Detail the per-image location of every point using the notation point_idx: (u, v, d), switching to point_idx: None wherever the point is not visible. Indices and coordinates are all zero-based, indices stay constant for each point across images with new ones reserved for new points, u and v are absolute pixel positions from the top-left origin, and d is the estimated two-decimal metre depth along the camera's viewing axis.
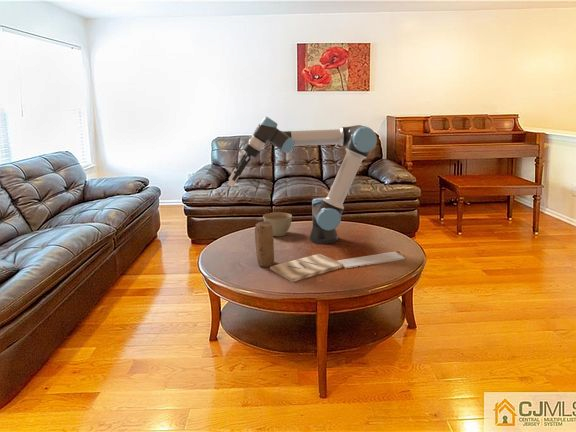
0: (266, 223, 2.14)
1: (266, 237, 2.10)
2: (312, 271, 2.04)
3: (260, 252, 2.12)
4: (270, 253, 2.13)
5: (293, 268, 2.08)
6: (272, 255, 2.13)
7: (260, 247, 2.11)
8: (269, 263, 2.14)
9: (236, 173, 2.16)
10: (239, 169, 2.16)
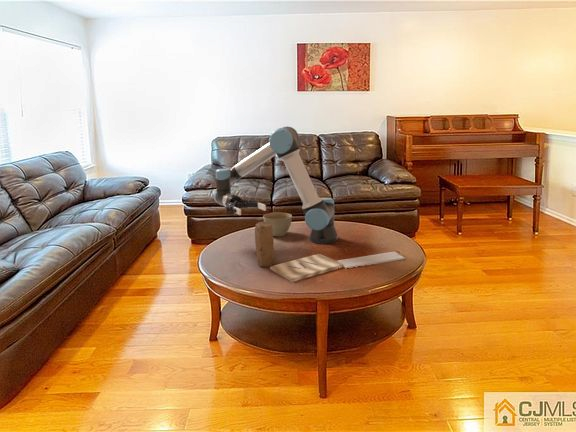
0: (266, 223, 2.14)
1: (266, 237, 2.10)
2: (312, 271, 2.04)
3: (260, 252, 2.12)
4: (270, 253, 2.13)
5: (293, 268, 2.08)
6: (272, 255, 2.13)
7: (260, 247, 2.11)
8: (269, 263, 2.14)
9: (228, 211, 2.21)
10: (226, 210, 2.23)
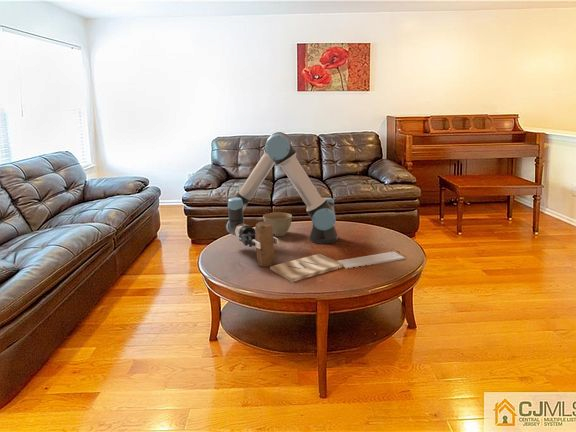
0: (266, 223, 2.14)
1: (267, 237, 2.10)
2: (312, 271, 2.04)
3: (260, 252, 2.12)
4: (271, 253, 2.13)
5: (293, 268, 2.08)
6: (272, 255, 2.13)
7: None
8: (269, 263, 2.14)
9: (247, 244, 2.14)
10: (244, 243, 2.16)
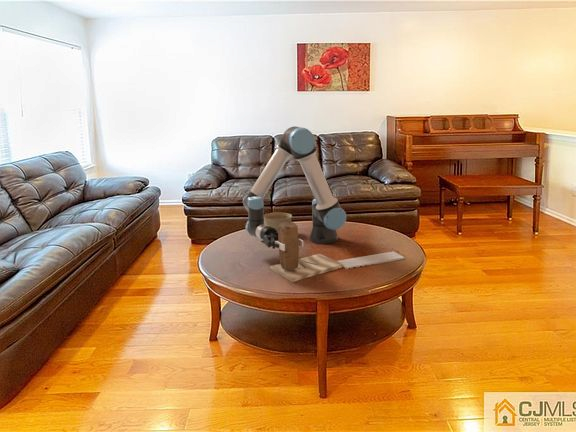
0: (291, 224, 2.02)
1: (292, 238, 1.98)
2: (312, 271, 2.04)
3: (284, 254, 1.99)
4: (295, 256, 2.01)
5: None
6: (297, 258, 2.01)
7: (285, 249, 1.99)
8: (293, 266, 2.02)
9: (270, 246, 2.02)
10: (266, 244, 2.04)
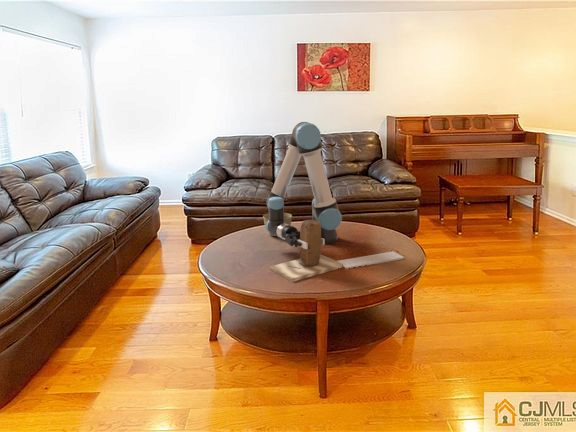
0: (314, 221, 2.09)
1: (315, 235, 2.05)
2: (312, 271, 2.04)
3: (307, 250, 2.06)
4: (317, 252, 2.07)
5: (293, 268, 2.08)
6: (319, 254, 2.08)
7: (308, 245, 2.05)
8: (315, 262, 2.08)
9: (292, 244, 2.09)
10: (289, 243, 2.11)
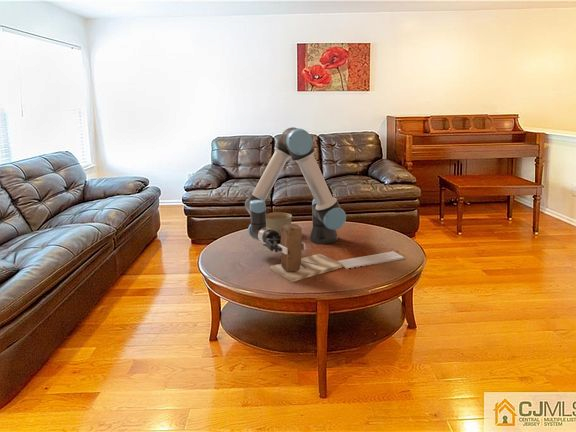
0: (294, 225, 2.03)
1: (295, 239, 1.99)
2: (312, 271, 2.04)
3: (287, 255, 2.00)
4: (298, 257, 2.01)
5: None
6: (299, 259, 2.02)
7: (288, 250, 1.99)
8: (295, 268, 2.02)
9: (272, 249, 2.03)
10: (269, 248, 2.05)
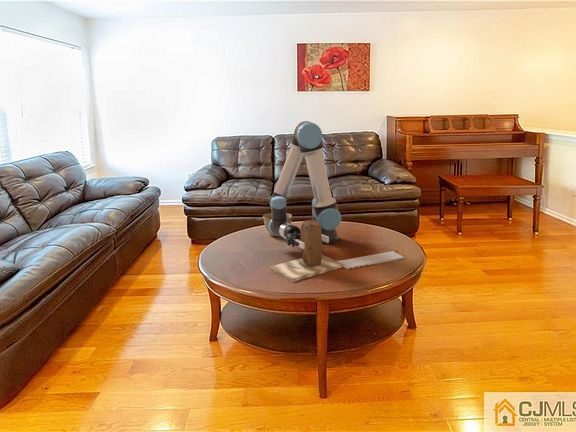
0: (313, 221, 2.08)
1: (315, 235, 2.05)
2: (312, 271, 2.04)
3: (309, 251, 2.06)
4: (319, 252, 2.07)
5: (293, 268, 2.08)
6: (320, 254, 2.08)
7: (309, 246, 2.05)
8: (317, 262, 2.09)
9: None
10: (287, 242, 2.12)
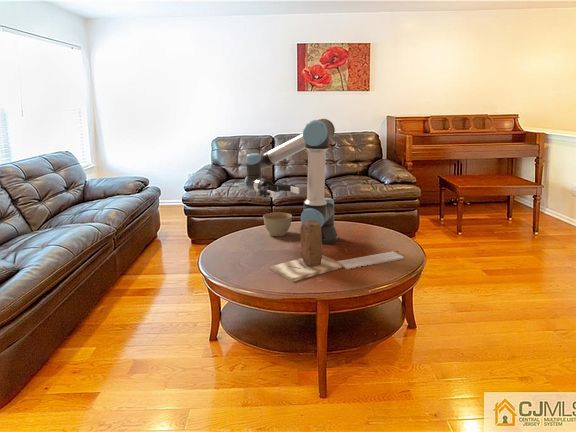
0: (313, 221, 2.08)
1: (315, 235, 2.05)
2: (312, 271, 2.04)
3: (309, 251, 2.06)
4: (319, 252, 2.07)
5: (293, 268, 2.08)
6: (320, 254, 2.08)
7: (309, 246, 2.05)
8: (317, 262, 2.09)
9: (262, 194, 2.20)
10: (259, 193, 2.22)
